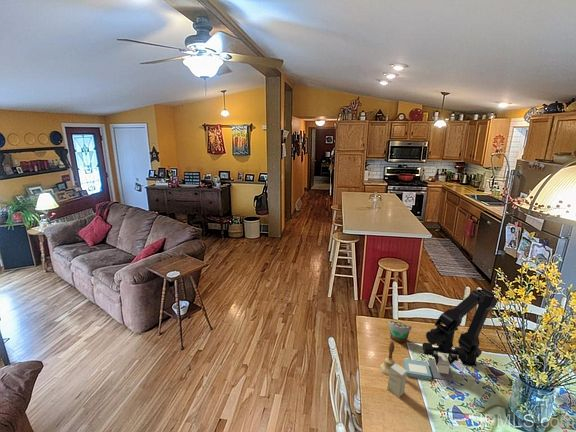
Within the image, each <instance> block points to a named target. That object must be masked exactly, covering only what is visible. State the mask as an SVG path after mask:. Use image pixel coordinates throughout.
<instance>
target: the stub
mask: <svg viewBox="0 0 576 432" xmlns="http://www.w3.org/2000/svg"><path fill="white" fill-rule="evenodd" d="M447 355H448V354H445V353H438V356H439V359H438V364H437V366H436V367H437V370H438V372H439V373H445V374H448V373H449V367H450V368H451V365H450V363H449V361H448V356H447ZM435 364H436V363H435Z"/></svg>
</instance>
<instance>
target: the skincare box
mask: <svg viewBox="0 0 576 432" xmlns="http://www.w3.org/2000/svg"><path fill="white" fill-rule="evenodd" d="M407 372H408V371H407V370H406V369H405V367H402V366H401V365H399V364H398V363H396V362H395V364H393V365H392V366H391V367H390V374H389V375H388V381H387V390H388V391H389V392H391V393H392V394H394V395H395V396H396V397H397V398H400V397H401V396H403V394H405V389H406V384H407V378H408V376H407Z"/></svg>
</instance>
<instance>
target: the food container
mask: <svg viewBox="0 0 576 432" xmlns="http://www.w3.org/2000/svg"><path fill="white" fill-rule="evenodd" d="M388 326H389V337H390V339H391V340H392V341H393V342H394V343H399V344H404V343H406V342H407V341H408V339H409V335H410V331H411V330H412V326H413V325H407V324H404V323H403V322H397V321H392V320H391V319H389V321H388Z"/></svg>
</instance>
